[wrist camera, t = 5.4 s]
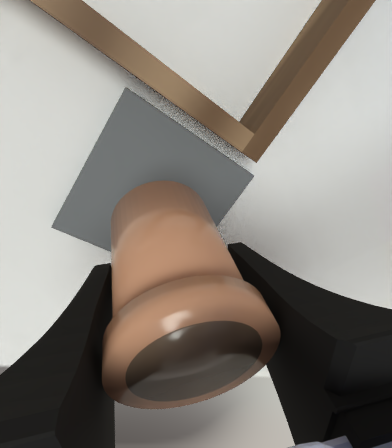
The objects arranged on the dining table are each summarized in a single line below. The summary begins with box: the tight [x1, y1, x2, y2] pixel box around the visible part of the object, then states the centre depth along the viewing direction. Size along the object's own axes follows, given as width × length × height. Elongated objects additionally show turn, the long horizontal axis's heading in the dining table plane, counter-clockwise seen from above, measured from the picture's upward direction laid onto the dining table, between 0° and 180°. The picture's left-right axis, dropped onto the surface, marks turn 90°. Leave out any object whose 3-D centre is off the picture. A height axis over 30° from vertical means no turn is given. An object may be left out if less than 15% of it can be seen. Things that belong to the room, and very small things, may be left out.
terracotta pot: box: [102, 181, 281, 409], centre depth 11 cm, size 5×5×7 cm
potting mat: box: [51, 88, 254, 252], centre depth 20 cm, size 10×10×1 cm
